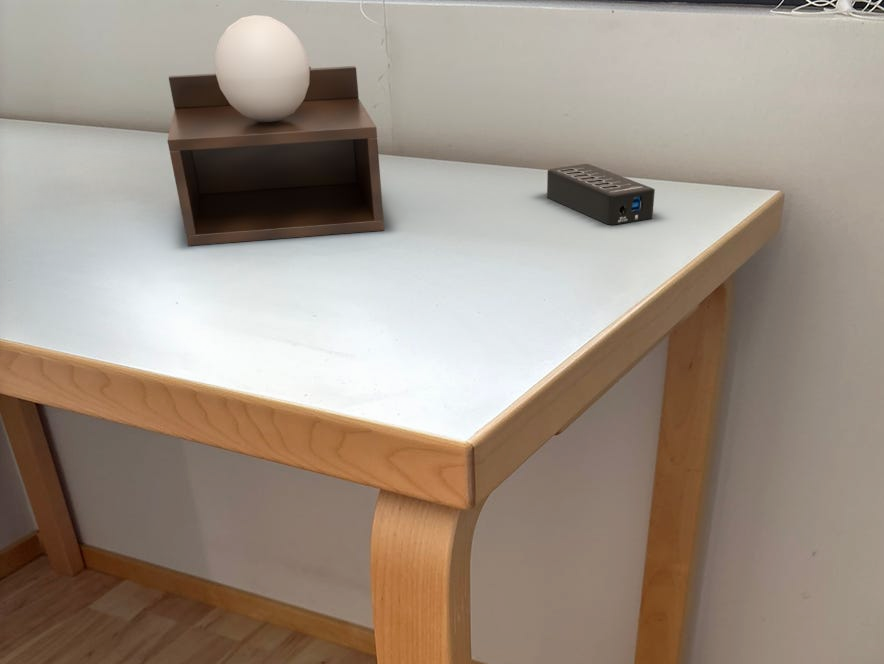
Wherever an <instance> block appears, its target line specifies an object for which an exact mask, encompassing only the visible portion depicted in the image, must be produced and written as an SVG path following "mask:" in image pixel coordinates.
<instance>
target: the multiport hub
mask: <svg viewBox="0 0 884 664" xmlns="http://www.w3.org/2000/svg"><path fill="white" fill-rule="evenodd" d="M546 175H547V177H546V178H547V180H546V183H547V184H546V186H547V187H546V197H547V198H548V199H550V200H552V201H553V202H554V201H555V202H556V203H559V204H561V205H563V206H566V207H568V208H570V209H572V210H575V211H577V212H579V213H582V214H584V215H585V216H588V217H590V218H592V219H595V220H597V221H599V222H602V223H603V224H606V225H608V226H616V225H617V226H618V225H622V224H628V223H633V222H639V221H646V220H650V219H651V220H652V219H653V217H654V204H655V193H656V189H655V188H652V187H650V186H648V185H645V184H643V183H640V182H638V181H635V180H632V179H629V178H627V177H623V176H621V175H619V174H617V173H613V172H611V171H608V170H605V169H603V168H601V167H597V166H594V165H592V164H590V163H582V164H576V165H575V164H574V165H568V166H561V167H554V168H549V169H547V174H546Z"/></svg>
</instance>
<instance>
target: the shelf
mask: <svg viewBox="0 0 884 664" xmlns="http://www.w3.org/2000/svg"><path fill="white" fill-rule="evenodd" d="M357 73H358V72H357V67H356V66H355V65H346V66H327V67H311V69H310V75H309V86H308V89H307V92H306V95H305V98H304V100H303V101H302V103H301V104H300V105H299V107H298V108H297V109H296V111H295V112H294V113H292V114H291V115H289V116H288V117H286V118H285V119H283V120H280V121H275V122H258V121H255V120H253V119H250V118H248V117H246V116H243V115H242V114H241V113H240V112H238V111H237V110H236V109H235V108H234V107H233V106H232V105H231V104H230V103H229V102H228V100H227V99H226V97H225V95H224V94H223V92H222V91H221V89H220V86H219V83H218V80H217V76H216V73H199V74H197V73H196V74H182V75H180V74H179V75H169V76H168V82H169V88H170V94H171V99H172V103H173V108H174V110H173V113H172V118H171V123H170V127H169V131H168V136H167V139H166V140H167V145H168V150H169V155H170V160H171V166H172V171H173V176H174V181H175V185H176V191H177V197H178V202H179V206H180V213H181V217H182V222H183V227H184V233H185V238H186V243H187V246H189V247H190V246H191V247H192V246H203V245H218V244H229V243H241V242H253V241H266V240H279V239H280V240H281V239H292V238H303V237H304V238H306V237H316V236H317V237H318V236H331V235H341V234H342V235H343V234H356V233H366V232H368V233H369V232H380V231H385V222H384V209H383V197H382V183H381V169H380V156H379V145H378V144H379V142H378V129H377V126H376V124H375V122H374V121H373V119H372V118H371V115H370V114H369V112H368V111H367V110H366V107H365V106H364V104H363V103H362V100H361V99H360V97H359V86H358V74H357Z"/></svg>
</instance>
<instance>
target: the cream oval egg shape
mask: <svg viewBox="0 0 884 664" xmlns="http://www.w3.org/2000/svg"><path fill="white" fill-rule="evenodd" d="M311 68H312V67H311V66H310V63H309V59H308V55H307V51H306V49H305V48H304V46H303V44H302V42H301V40H300V39H299V37H298V35H296V34H295V33H294V31H293V30H291V29H290V28H289V27H288V26H287V25H286V24H285V23H284V22H282V21H280V20H278V19H275V18H273V17H271V16H270V15H269V16H268V15H260V14H259V15H258V14H253V15H248V16H243V17H240V18H239V19H237V20H236V21H235V22H233V23H232V24H231V25H229V26H227V28H226V30H225V31H224V32H223V34H222V35H221V36H220V38H219V39H218V43H217V47H216V50H215V54H214V72H215V73H216V76H217V80H218V83H219V86H220V89H221V91H222V92H223V94H224V95H225V97H226V99H227V100H228V102H229V103H230V104H231V105H232V106H233V107H234V108H235V109H236V110H237V111H238V112H240V113H241V114H242V115H243V116H246V117H248V118H250V119H253V120H255V121H258V122H275V121H280V120H283V119H285V118H286V117H288V116H289V115H291V114H292V113H294V112H295V111H296V109H297V108H298V107H299V105H300V104H301V103H302V101H303V100H304V98H305V95H306V92H307V89H308V86H309V75H310V69H311ZM215 73H214V74H215Z"/></svg>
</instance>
